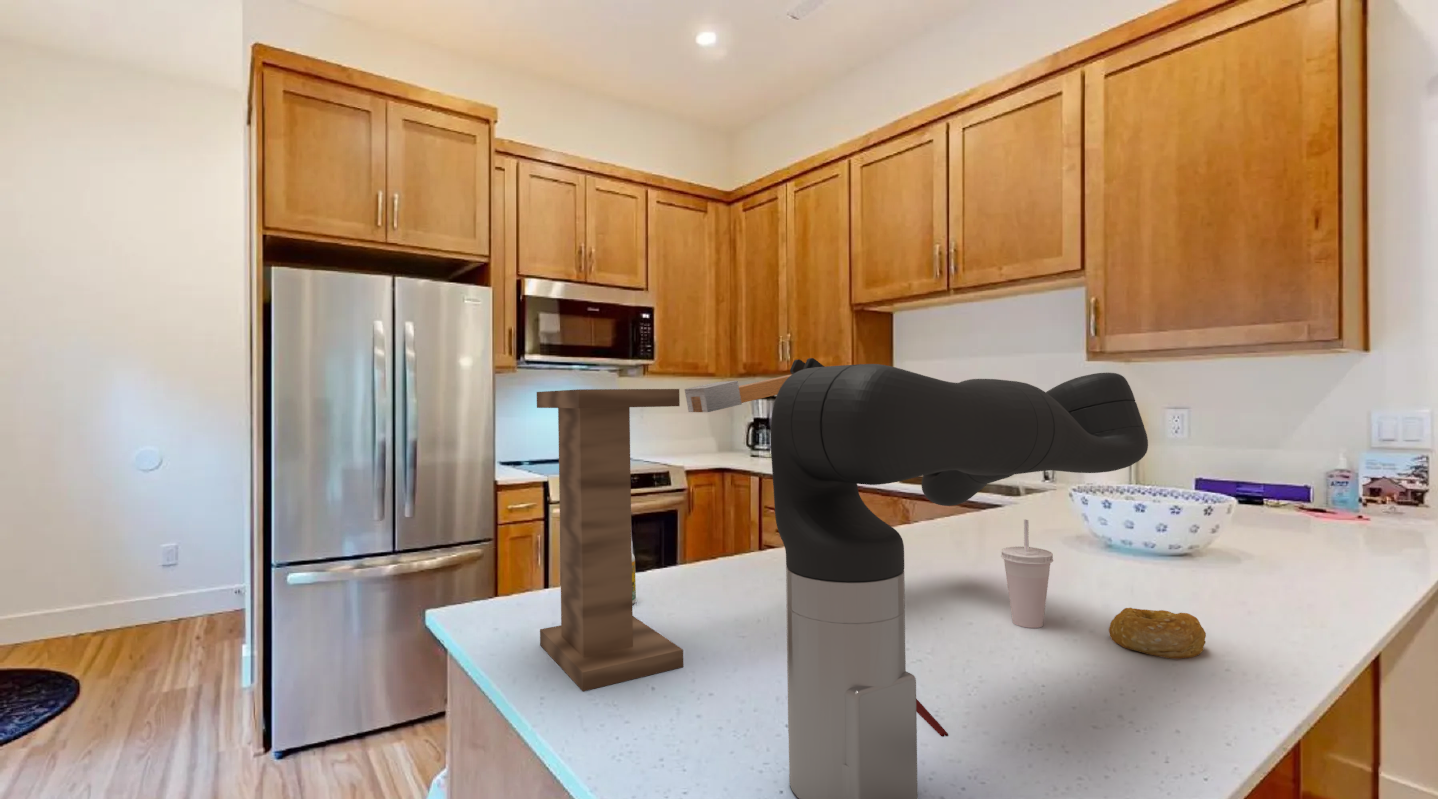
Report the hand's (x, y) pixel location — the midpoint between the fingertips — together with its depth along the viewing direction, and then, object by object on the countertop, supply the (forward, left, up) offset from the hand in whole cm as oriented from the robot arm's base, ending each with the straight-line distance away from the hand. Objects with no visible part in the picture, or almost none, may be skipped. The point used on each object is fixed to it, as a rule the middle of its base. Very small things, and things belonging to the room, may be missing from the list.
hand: (800, 364), depth 93 cm
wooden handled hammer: (0, +5, -4) cm, 7 cm away
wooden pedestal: (+3, +27, -35) cm, 45 cm away
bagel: (-30, -31, -36) cm, 56 cm away
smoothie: (-17, -25, -36) cm, 46 cm away
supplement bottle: (+22, +18, -36) cm, 46 cm away
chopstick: (-21, +4, -36) cm, 42 cm away
